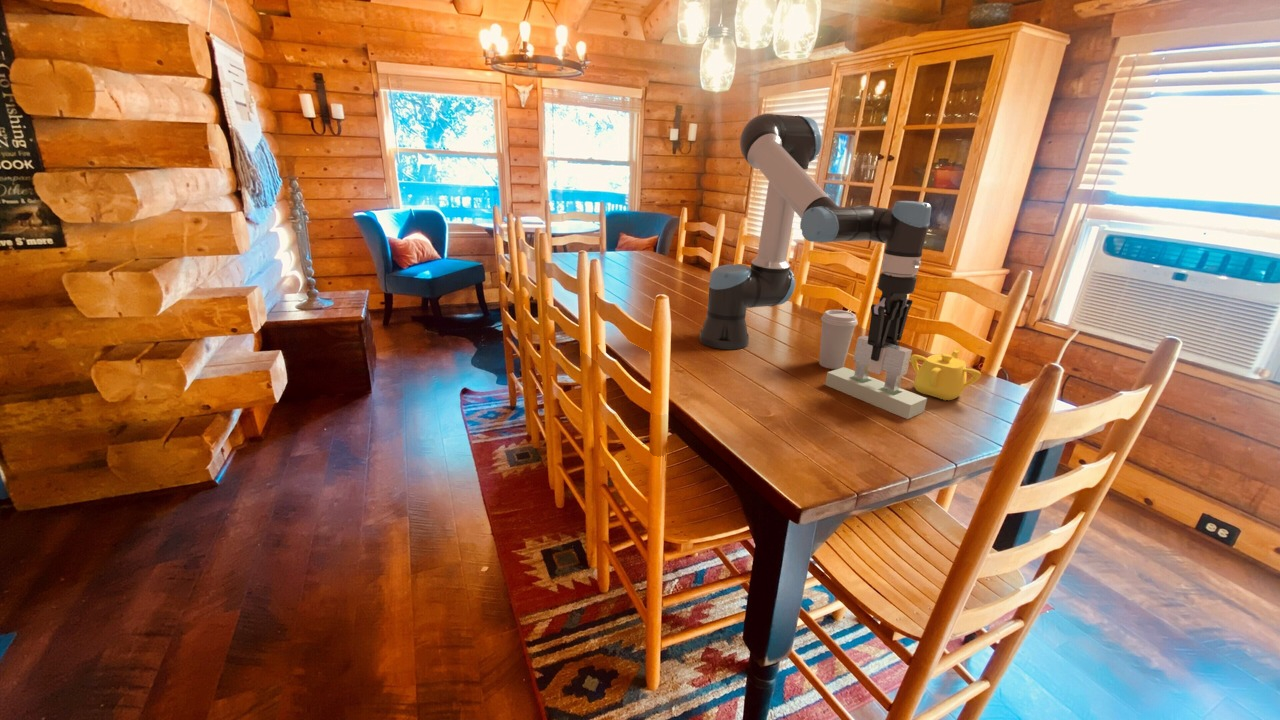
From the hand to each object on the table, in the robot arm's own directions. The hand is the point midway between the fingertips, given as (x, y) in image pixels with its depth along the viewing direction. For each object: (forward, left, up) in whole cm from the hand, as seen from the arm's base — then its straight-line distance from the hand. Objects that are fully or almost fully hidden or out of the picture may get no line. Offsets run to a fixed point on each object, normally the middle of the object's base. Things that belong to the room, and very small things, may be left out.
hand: (878, 370), depth 125 cm
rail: (0, 0, -7) cm, 7 cm away
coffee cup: (-19, +10, -7) cm, 23 cm away
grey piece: (0, 0, -3) cm, 3 cm away
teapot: (+7, +18, -7) cm, 21 cm away
